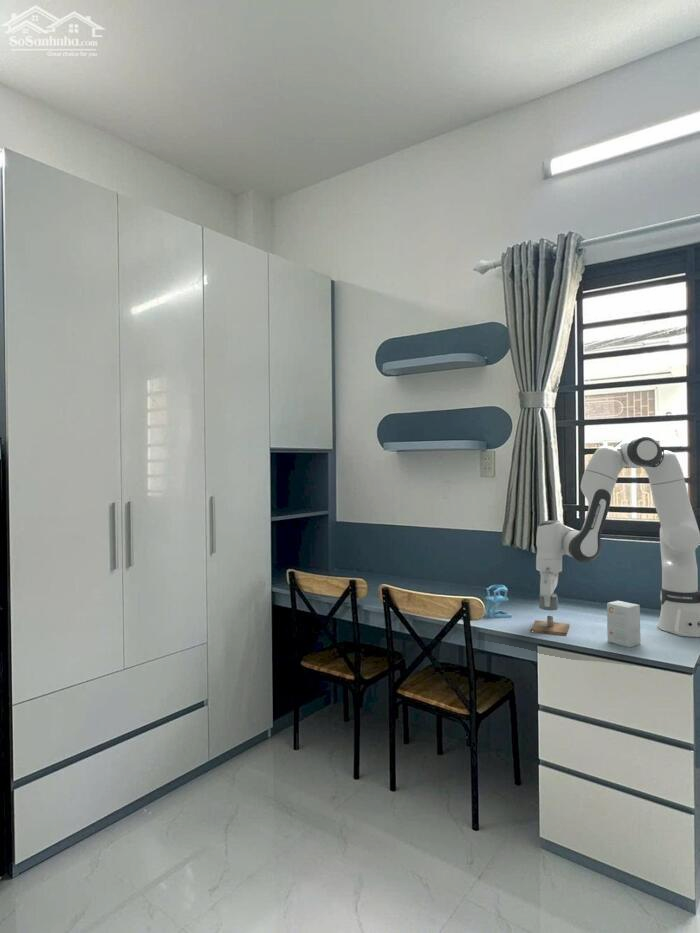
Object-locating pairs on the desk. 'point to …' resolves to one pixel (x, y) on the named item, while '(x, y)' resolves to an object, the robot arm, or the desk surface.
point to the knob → (552, 603)
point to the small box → (623, 623)
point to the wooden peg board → (550, 627)
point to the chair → (496, 601)
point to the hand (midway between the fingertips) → (548, 603)
